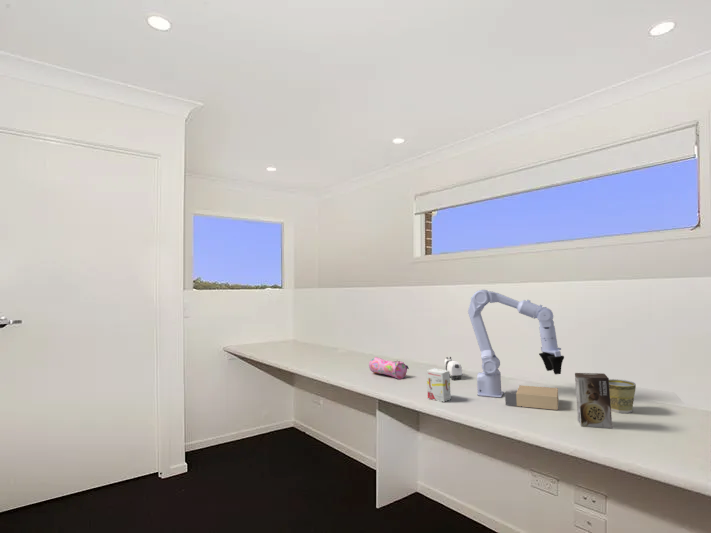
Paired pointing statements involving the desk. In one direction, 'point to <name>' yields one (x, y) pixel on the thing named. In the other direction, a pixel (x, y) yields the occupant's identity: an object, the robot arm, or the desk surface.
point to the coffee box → (593, 400)
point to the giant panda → (453, 368)
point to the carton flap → (531, 400)
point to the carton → (538, 391)
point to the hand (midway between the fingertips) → (553, 372)
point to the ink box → (438, 384)
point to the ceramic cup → (621, 395)
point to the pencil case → (388, 367)
